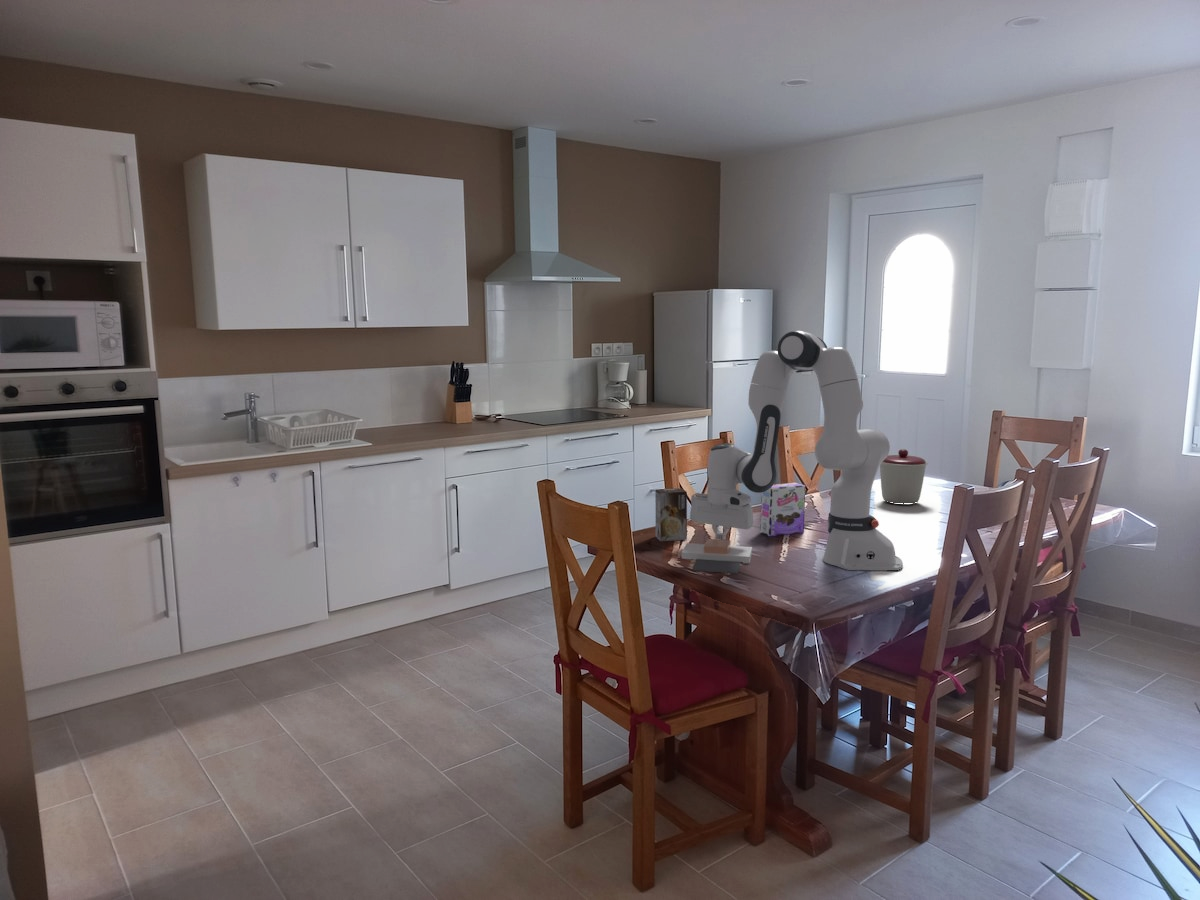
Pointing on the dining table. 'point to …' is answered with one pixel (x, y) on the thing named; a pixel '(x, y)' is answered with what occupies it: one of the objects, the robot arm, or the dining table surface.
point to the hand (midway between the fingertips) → (720, 539)
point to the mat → (716, 566)
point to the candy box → (783, 509)
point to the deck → (733, 555)
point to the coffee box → (671, 514)
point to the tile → (717, 546)
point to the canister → (902, 477)
